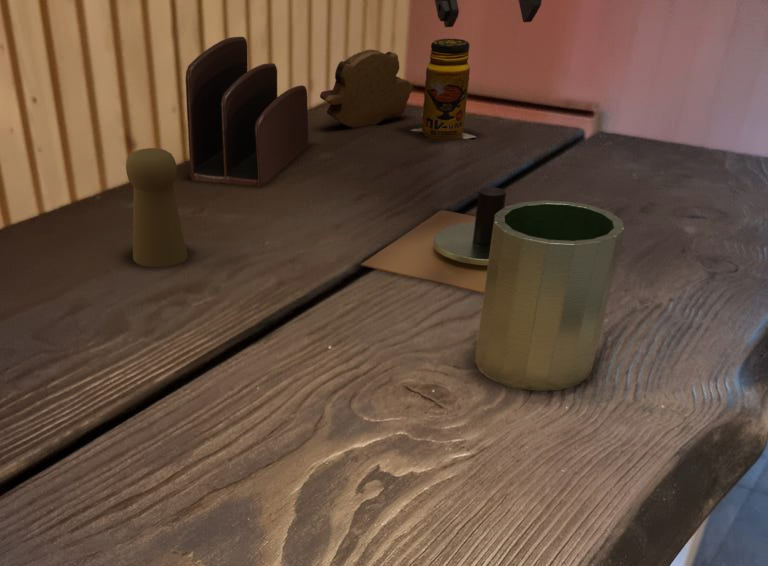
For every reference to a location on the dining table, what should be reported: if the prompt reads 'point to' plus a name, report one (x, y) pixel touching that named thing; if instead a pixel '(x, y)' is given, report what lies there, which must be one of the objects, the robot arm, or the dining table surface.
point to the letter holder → (241, 118)
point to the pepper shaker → (155, 209)
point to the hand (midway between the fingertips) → (492, 19)
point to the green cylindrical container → (546, 293)
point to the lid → (472, 231)
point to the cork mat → (430, 256)
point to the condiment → (446, 90)
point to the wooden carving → (367, 89)
